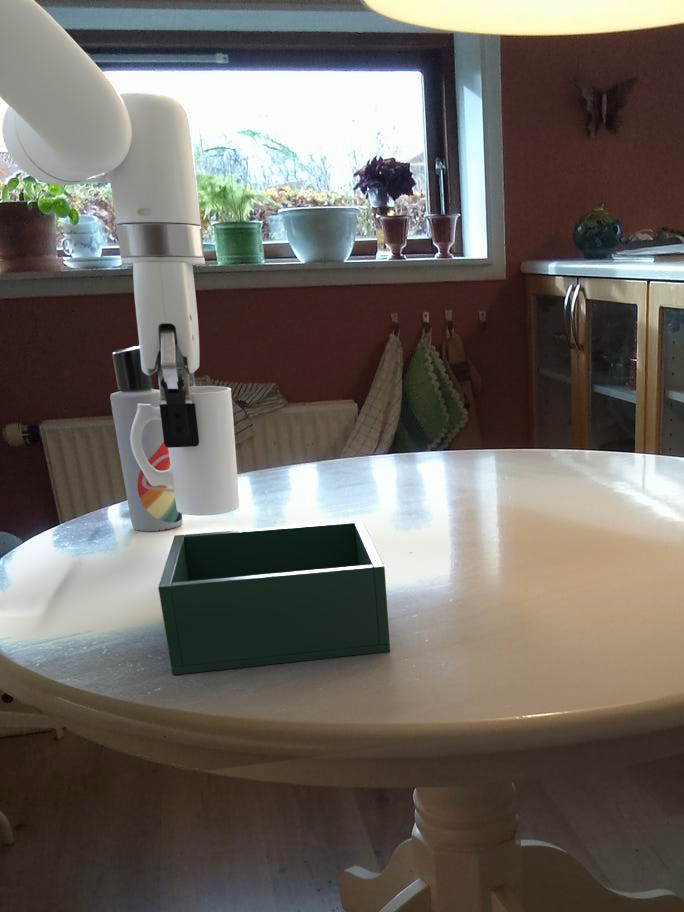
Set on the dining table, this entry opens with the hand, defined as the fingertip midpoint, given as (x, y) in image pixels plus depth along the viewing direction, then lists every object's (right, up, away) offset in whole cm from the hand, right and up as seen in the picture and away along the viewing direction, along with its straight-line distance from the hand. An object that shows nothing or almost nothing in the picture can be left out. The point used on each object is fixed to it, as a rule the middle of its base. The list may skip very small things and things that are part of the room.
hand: (184, 439), depth 92 cm
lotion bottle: (-8, -7, +15) cm, 19 cm away
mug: (0, -7, +3) cm, 7 cm away
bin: (+14, -19, -19) cm, 30 cm away
